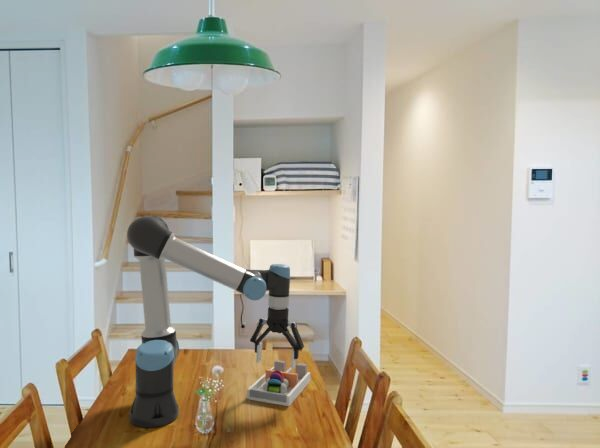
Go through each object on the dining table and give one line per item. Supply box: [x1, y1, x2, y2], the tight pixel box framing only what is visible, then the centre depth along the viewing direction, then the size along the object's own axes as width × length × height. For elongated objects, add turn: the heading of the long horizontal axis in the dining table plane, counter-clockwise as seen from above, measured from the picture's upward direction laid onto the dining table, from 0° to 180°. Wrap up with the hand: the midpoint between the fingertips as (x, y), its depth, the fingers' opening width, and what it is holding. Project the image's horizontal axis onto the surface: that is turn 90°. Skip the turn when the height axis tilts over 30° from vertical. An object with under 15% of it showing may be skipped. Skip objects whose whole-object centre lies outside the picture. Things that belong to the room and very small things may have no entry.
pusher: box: [264, 366, 298, 388], centre depth 178 cm, size 11×13×5 cm
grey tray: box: [246, 359, 311, 407], centre depth 173 cm, size 24×16×6 cm, turn 161°
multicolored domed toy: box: [263, 370, 289, 394], centre depth 168 cm, size 8×10×7 cm
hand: (275, 364), depth 169 cm, fingers open, 13 cm apart
